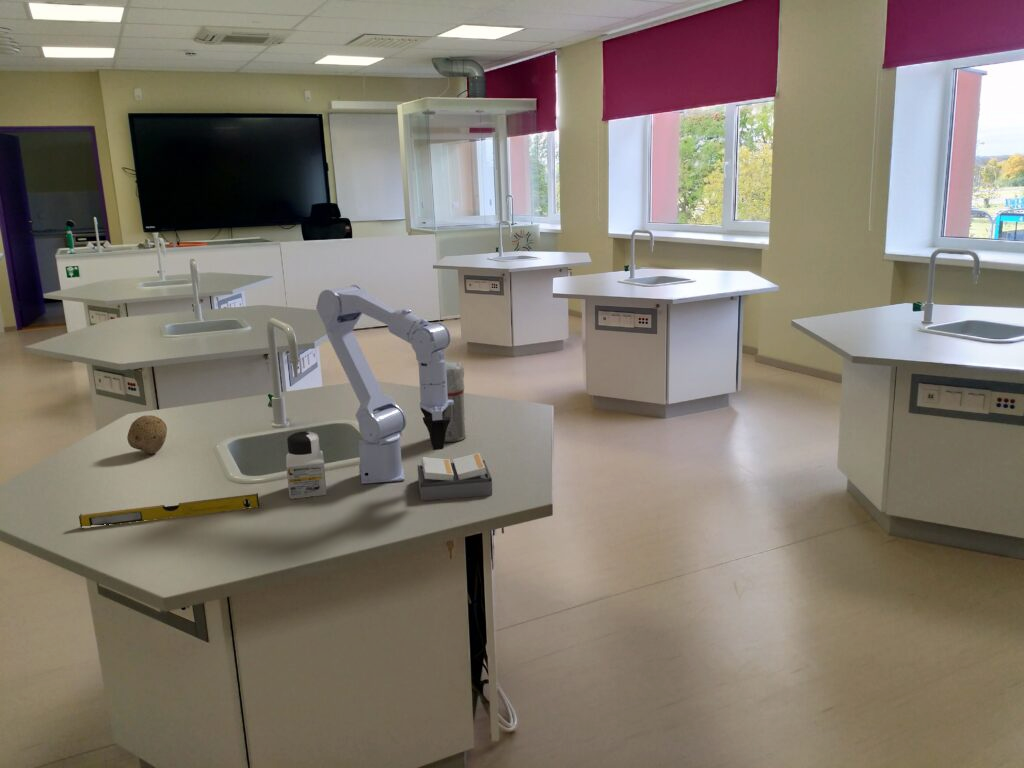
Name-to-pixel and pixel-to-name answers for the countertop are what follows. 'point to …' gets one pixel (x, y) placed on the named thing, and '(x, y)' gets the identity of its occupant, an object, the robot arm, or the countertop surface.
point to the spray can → (455, 402)
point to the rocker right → (469, 466)
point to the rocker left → (437, 469)
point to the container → (305, 466)
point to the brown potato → (147, 434)
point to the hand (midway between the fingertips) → (436, 443)
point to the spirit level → (169, 510)
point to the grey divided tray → (454, 486)
